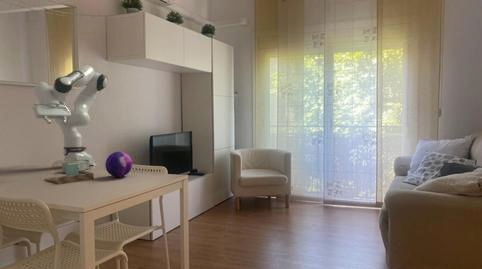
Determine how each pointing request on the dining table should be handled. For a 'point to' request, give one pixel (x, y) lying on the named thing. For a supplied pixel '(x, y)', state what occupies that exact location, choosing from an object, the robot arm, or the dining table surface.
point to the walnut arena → (71, 178)
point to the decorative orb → (118, 164)
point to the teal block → (72, 169)
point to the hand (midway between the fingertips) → (57, 123)
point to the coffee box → (81, 165)
